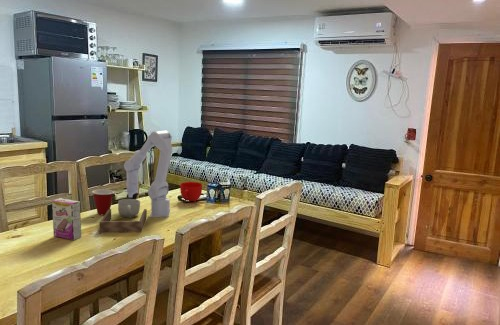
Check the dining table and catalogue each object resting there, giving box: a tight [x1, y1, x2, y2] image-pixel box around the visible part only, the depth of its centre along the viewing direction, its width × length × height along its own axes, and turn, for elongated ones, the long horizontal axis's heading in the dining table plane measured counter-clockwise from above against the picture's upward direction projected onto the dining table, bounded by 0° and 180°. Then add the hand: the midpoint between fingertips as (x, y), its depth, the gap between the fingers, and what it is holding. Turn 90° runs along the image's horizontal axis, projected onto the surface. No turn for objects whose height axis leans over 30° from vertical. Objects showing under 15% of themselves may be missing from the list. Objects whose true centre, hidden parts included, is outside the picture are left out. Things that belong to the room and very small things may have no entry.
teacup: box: [117, 198, 141, 218], centre depth 198 cm, size 14×11×8 cm
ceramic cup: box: [179, 181, 203, 202], centre depth 229 cm, size 13×17×10 cm
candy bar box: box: [51, 197, 82, 241], centre depth 168 cm, size 11×5×16 cm, turn 71°
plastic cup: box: [91, 189, 115, 216], centre depth 202 cm, size 11×11×12 cm
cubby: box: [98, 208, 148, 234], centre depth 186 cm, size 18×19×5 cm
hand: (132, 206), depth 211 cm, fingers closed
